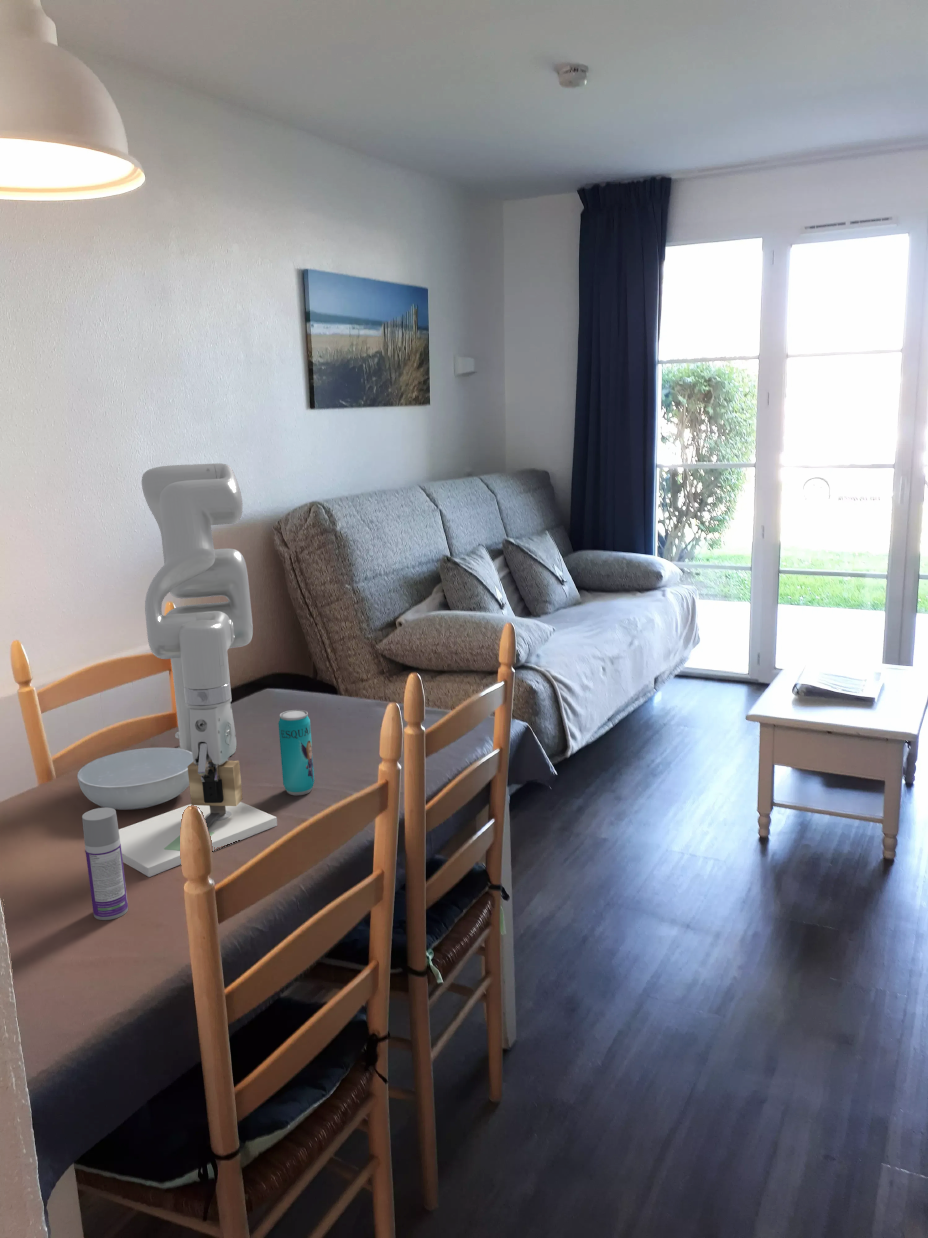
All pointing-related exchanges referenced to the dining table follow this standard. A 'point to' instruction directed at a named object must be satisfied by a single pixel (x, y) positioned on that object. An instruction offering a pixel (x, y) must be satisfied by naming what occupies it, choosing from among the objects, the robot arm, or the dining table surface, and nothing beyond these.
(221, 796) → the robot arm
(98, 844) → the container
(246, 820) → the dial board
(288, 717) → the beverage can
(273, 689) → the dining table surface
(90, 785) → the serving bowl
